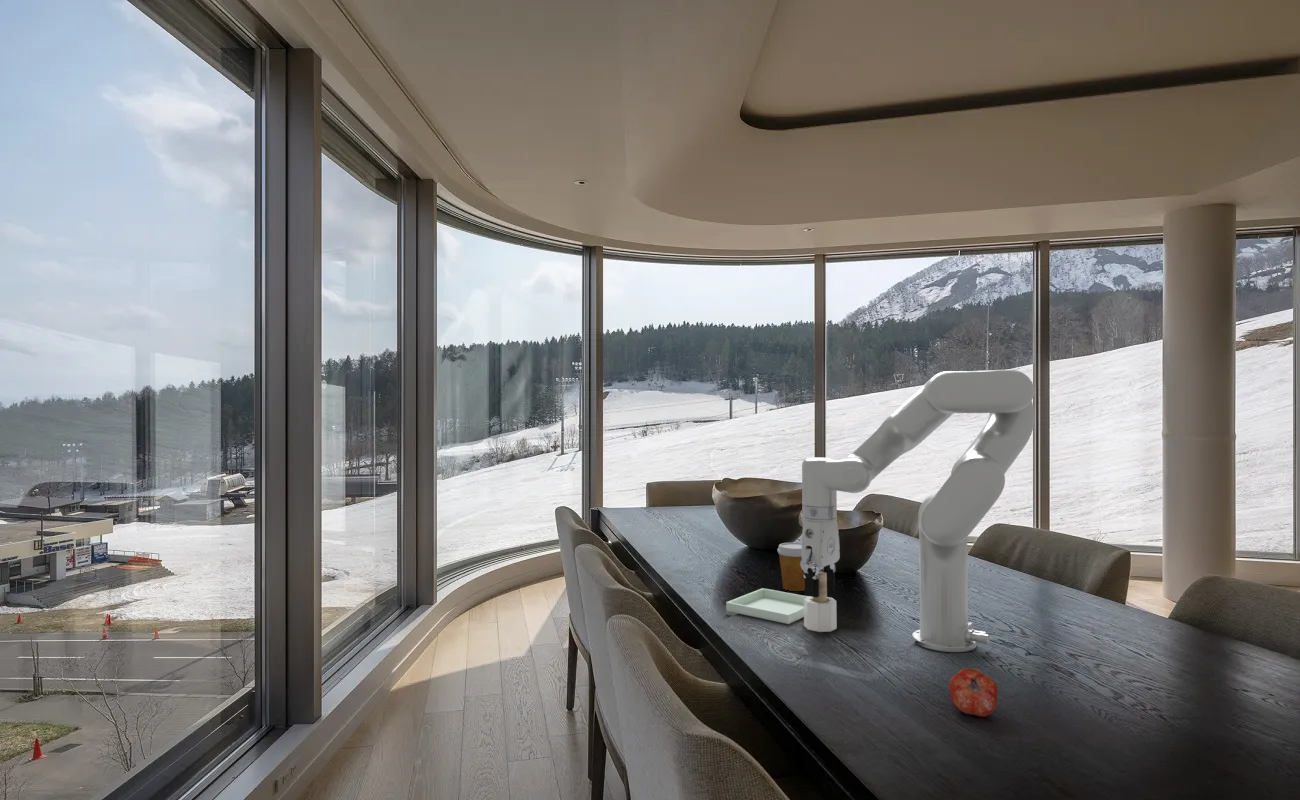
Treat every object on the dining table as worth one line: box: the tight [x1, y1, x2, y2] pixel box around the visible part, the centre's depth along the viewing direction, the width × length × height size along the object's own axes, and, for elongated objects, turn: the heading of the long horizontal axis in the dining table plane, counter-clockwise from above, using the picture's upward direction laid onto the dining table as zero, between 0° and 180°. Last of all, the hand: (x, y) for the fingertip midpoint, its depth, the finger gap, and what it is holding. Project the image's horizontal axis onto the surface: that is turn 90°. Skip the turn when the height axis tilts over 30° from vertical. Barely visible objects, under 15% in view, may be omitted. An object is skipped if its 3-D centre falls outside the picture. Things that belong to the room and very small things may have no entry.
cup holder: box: [803, 596, 838, 633], centre depth 162 cm, size 7×7×7 cm
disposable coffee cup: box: [776, 542, 805, 592], centre depth 199 cm, size 10×10×12 cm
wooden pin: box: [813, 571, 828, 603], centre depth 162 cm, size 3×3×12 cm
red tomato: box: [948, 667, 999, 717], centre depth 120 cm, size 7×7×10 cm
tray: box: [725, 587, 809, 625], centre depth 177 cm, size 17×17×3 cm
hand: (819, 592), depth 163 cm, fingers open, 6 cm apart
